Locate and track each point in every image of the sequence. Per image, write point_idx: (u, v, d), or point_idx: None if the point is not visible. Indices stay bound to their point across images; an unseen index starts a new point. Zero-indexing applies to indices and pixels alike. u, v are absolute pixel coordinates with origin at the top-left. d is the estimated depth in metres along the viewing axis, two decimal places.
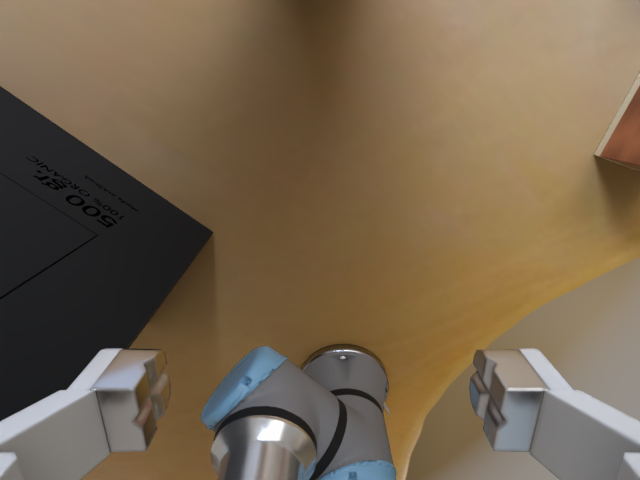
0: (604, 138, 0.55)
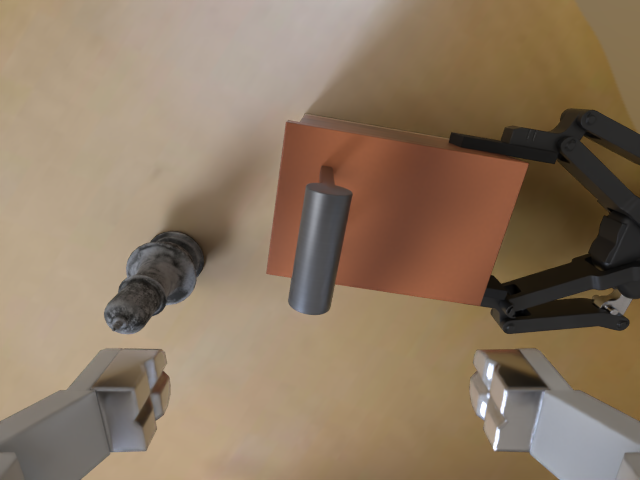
0: None
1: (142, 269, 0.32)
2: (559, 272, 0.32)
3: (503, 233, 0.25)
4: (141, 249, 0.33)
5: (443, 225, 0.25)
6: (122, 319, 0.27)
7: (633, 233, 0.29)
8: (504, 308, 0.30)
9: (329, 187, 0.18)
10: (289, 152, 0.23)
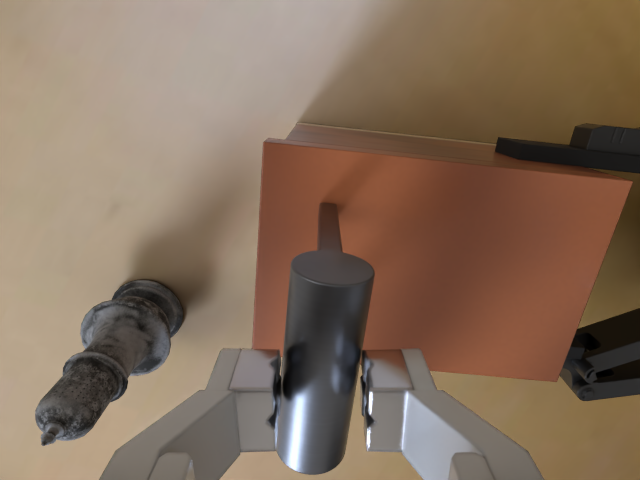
0: None
1: (96, 339, 0.24)
2: None
3: (593, 283, 0.17)
4: (96, 310, 0.26)
5: (503, 276, 0.17)
6: (57, 425, 0.19)
7: None
8: (581, 371, 0.22)
9: (332, 261, 0.10)
10: (271, 185, 0.16)
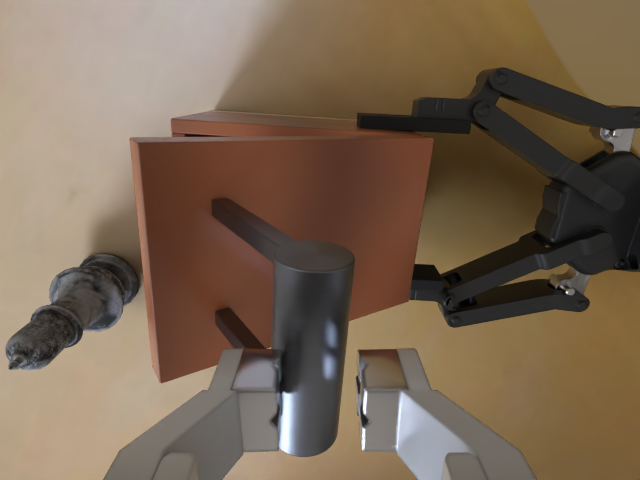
0: None
1: (58, 298, 0.30)
2: (503, 254, 0.28)
3: (420, 219, 0.23)
4: (60, 277, 0.32)
5: (368, 230, 0.20)
6: (21, 355, 0.25)
7: (575, 201, 0.25)
8: (443, 300, 0.27)
9: (308, 250, 0.10)
10: (154, 191, 0.14)
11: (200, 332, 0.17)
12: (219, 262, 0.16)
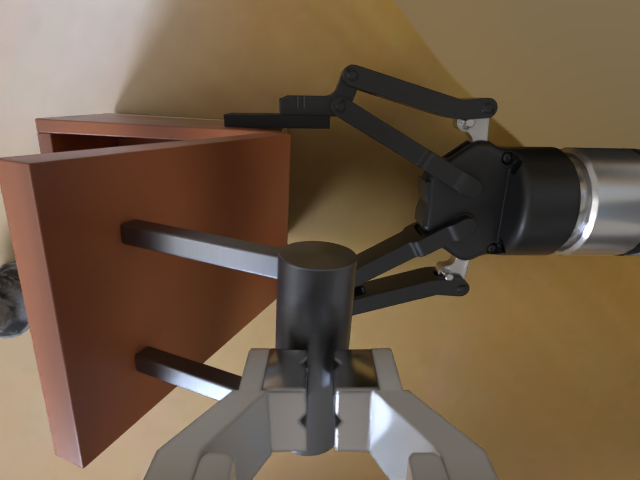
0: None
1: None
2: (387, 244, 0.29)
3: None
4: None
5: (254, 230, 0.20)
6: None
7: (441, 190, 0.27)
8: None
9: (307, 251, 0.11)
10: (55, 225, 0.11)
11: (121, 386, 0.14)
12: (133, 297, 0.14)
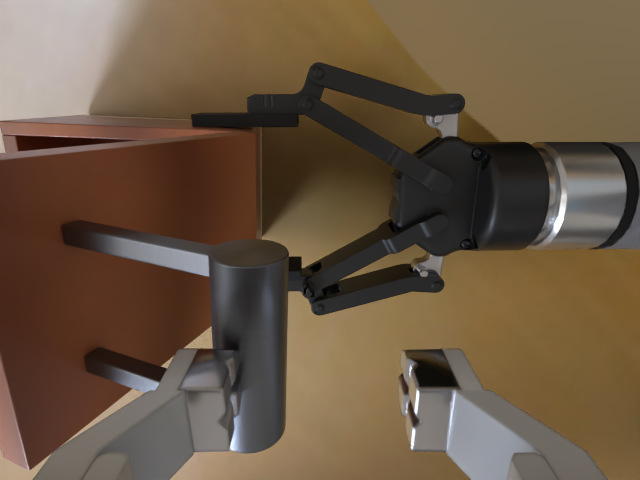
0: None
1: None
2: (361, 241, 0.29)
3: (255, 210, 0.24)
4: None
5: (217, 229, 0.20)
6: None
7: (412, 186, 0.27)
8: (302, 289, 0.29)
9: (239, 249, 0.11)
10: None
11: (70, 387, 0.14)
12: (80, 298, 0.14)
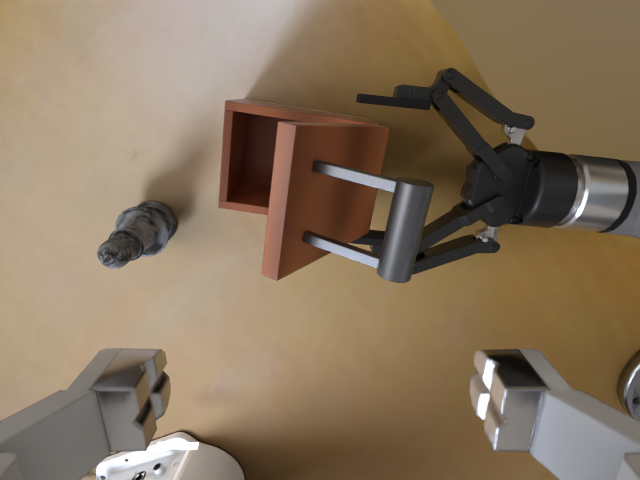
0: None
1: (126, 226, 0.43)
2: (441, 219, 0.42)
3: None
4: (125, 213, 0.44)
5: (361, 184, 0.33)
6: (110, 255, 0.38)
7: (483, 175, 0.39)
8: None
9: (410, 180, 0.23)
10: (296, 154, 0.23)
11: (296, 246, 0.26)
12: (309, 200, 0.26)
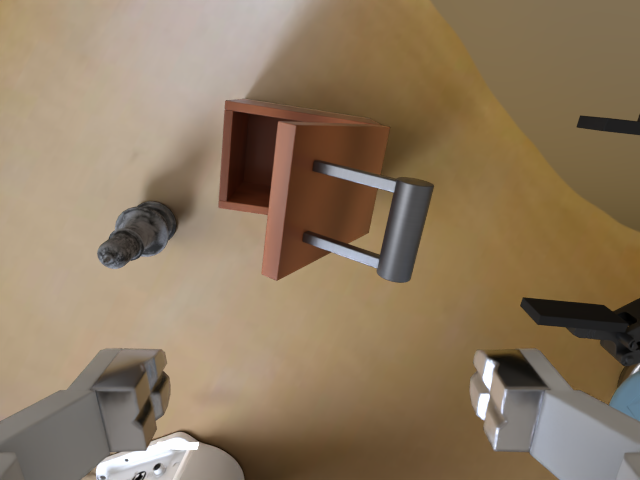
0: None
1: (126, 226, 0.43)
2: None
3: None
4: (125, 213, 0.44)
5: (361, 184, 0.33)
6: (110, 255, 0.38)
7: None
8: (624, 343, 0.29)
9: (410, 180, 0.23)
10: (296, 154, 0.23)
11: (296, 246, 0.26)
12: (309, 200, 0.26)
